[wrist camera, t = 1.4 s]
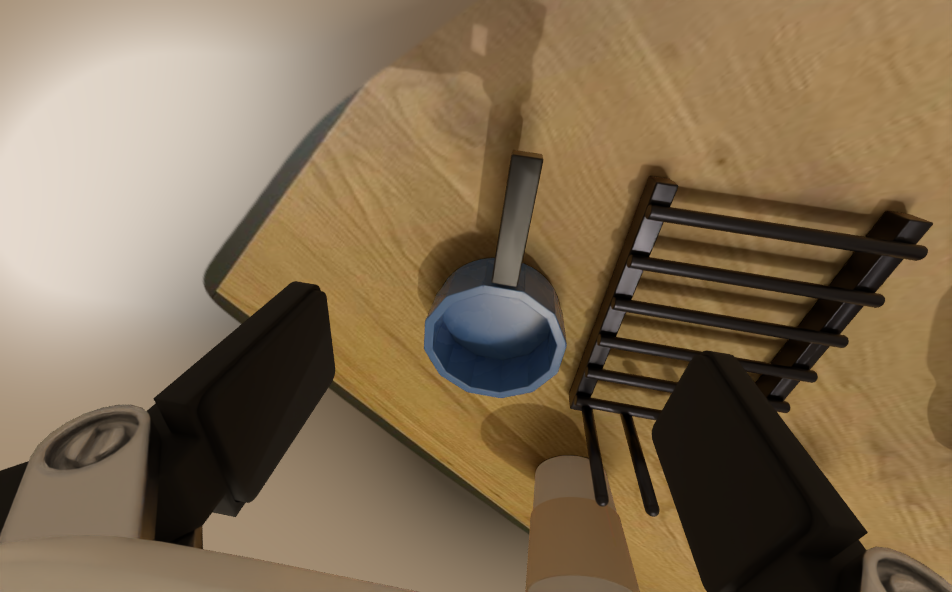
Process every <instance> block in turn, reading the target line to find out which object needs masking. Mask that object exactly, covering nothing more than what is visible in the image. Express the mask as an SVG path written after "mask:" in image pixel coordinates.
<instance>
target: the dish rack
mask: <svg viewBox="0 0 952 592" xmlns="http://www.w3.org/2000/svg"><path fill="white" fill-rule="evenodd" d="M677 189H678V185H677V184H676V183H674V182H673V181H672V180H670V179H668V178H662V177H655V176H649V178H648V181H647V183H646V186H645V189H644V191H643V194H642V197H641V200H640V202H639V205H638V208H637V211H636V213H635V216H634V219H633V221H632V224H631V227H630V230H629V232H628V235H627V238H626V240H625V243H624V246H623V249H622V251H621V254H620V257H619V260H618V262H617V265H616V268H615V270H614V273H613V276H612V279H611V281H610V284H609V287H608V289H607V292H606V295H605V298H604V300H603V303H602V306H601V309H600V311H599V314H598V317H597V319H596V322H595V325H594V328H593V330H592V333H591V336H590V338H589V341H588V344H587V347H586V349H585V352H584V355H583V358H582V360H581V363H580V366H579V368H578V371H577V374H576V377H575V379H574V382H573V385H572V387H571V390H570V393H569V402H570V409H574V410H580V411H582V415H583V422H584V429H585V436H586V442H587V449H588V456H589V462H590V469H591V476H592V482H593V489H594V496H595V501H596V503H597V504H598V505H599V506H601V507H605V506H607V505H608V503H609V497H608V492H607V486H606V481H605V475H604V470H603V464H602V459H601V453H600V448H599V442H598V437H597V431H596V426H595V420H594V415H593V409H596V410H602V411H607V412H613V413H618V414H620V416H621V420H622V423H623V427H624V431H625V435H626V439H627V443H628V446H629V450H630V454H631V458H632V462H633V466H634V469H635V473H636V477H637V481H638V485H639V489H640V492H641V496H642V500H643V504H644V508H645V511H646V513H647V514H648V515H650V516H653V517H655V516H657V515H658V514H659V506H658V503H657V499H656V496H655V493H654V489H653V486H652V482H651V479H650V476H649V472H648V469H647V465H646V462H645V459H644V455H643V452H642V448H641V445H640V442H639V438H638V435H637V431H636V428H635V425H634V421H633V418H632V416H635V417H640V418H646V419H651V420H657V419H658V417H659V415H660V413H661V412H662V410H657V409H651V408H646V407H640V406H635V405H629V404H623V403H618V402H612V401H607V400H601V399H596V398H590V397H591V395H592V393H593V390H594V388H595V385H596V383H597V381H598V380H602V381H608V382H613V383H619V384H625V385H630V386H636V387H642V388H647V389H653V390H658V391H664V392H670V393H672V392H673V390H674V389H675V387H676V385H677V383H678V382H673V381H667V380H661V379H656V378H650V377H644V376H639V375H633V374H627V373H621V372H616V371H610V370H604V369H603V366H604V364H605V361H606V359H607V357H608V354H609V352H610V349H611V348H613V349H619V350H625V351H631V352H637V353H642V354H648V355H654V356H660V357H666V358H671V359H677V360H683V361H689V362H690V361H691V359H692V358H693V357H694V356H695V355H700V354H701V353H702V352H701V351H696V350H690V349H684V348H678V347H672V346H666V345H660V344H655V343H649V342H643V341H637V340H631V339H625V338H619V337H616V335H617V333H618V330H619V328H620V325H621V323H622V321H623V318H624V316H625V313H626V312H629V313H635V314H641V315H647V316H653V317H659V318H665V319H671V320H677V321H683V322H689V323H695V324H701V325H707V326H713V327H719V328H725V329H731V330H737V331H743V332H749V333H755V334H761V335H767V336H773V337H779V338H785V339H789V340H788V341H787V343H786V344H785V345H784V347H783V348H782V349H781V351H780V352H779V353H778V354H777V356H776V357H775V358H774V360H773V361H772V362H771V363H766V362H760V361H754V360H748V359H742V358H737V357H735V358H736V359H737V360H738V361H739V363H740V364H741V365H742V367H743V368H744V369H745V371H747V372H752V373H758V374H762V376H761V377H760V378H759V380H758V381H757V382H756V385H757V387H758V388H759V389H760V391H761V392H762V393H763V394H764V396H765V397H766V398H767V400H768V401H769V402H770V404H771V405H772V406H773V408H774V409H775V410H776V411H777V412H782V413H788V412H789V411H790V405H789V403H788V402H786V401H784V400H785V398H786V397H787V396H788V395H789V394H790V393H791V391H792V390H793V389H794V388H795V387H796V385H797V384H798V383H799V382H800V381H805V382H810V383H813V382H815V381H816V380H817V378H818V376H817V373H816V372H815V371H813V370H810V369H811V368H812V367H813V365H814V364H815V363H816V362H817V361H818V359H819V358H820V357H821V356H822V355H823V354H824V352H825V351H826V350H827V349H828V348H829V346H833V347H839V348H844V347H846V346H847V345H848V342H849V340H848V338H847V337H846V336H845V335H840V333H841V332H842V331H843V330H844V329H845V328H846V326H847V325H848V324H849V323H850V322H851V320H852V319H853V318H854V317H855V316H856V315H857V313H858V312H859V311H860V310H861V309H862V308H863V306H868V307H874V308H877V307H881V306H882V305H883V304H884V302H885V297H884V296H883V295H881V294H877V293H875V292H876V291H877V290H878V289H879V287H880V286H881V285H882V284H883V283H884V282H885V280H886V279H887V278H888V277H889V276H890V274H891V273H892V272H893V271H894V270H895V269H896V267H897V266H898V265H899V264H900V263H901V261H902V260H903V259H908V260H915V261H917V260H921V259H923V258H924V257H925V256H926V255H927V253H928V249H927V248H926V247H925V246H922V245H916V244H917V243H918V241H919V240H920V239H921V238H922V237H923V235H924V234H925V233H926V232H927V231H928V230H929V228H930V227H931V226H932V225H933V223H932V222H929V221H926V220H924V219H921V218H918V217H916V216H913V215H910V214H906V213H899V212H893V211H886V212H885V213H884V214H883V216H882V217H881V218H880V220H879V221H878V222H877V224H876V225H875V226H874V228H873V229H872V230H871V231H870V233H869V234H868V235H867V237H863V236H857V235H850V234H843V233H837V232H830V231H824V230H817V229H810V228H804V227H797V226H791V225H784V224H777V223H771V222H764V221H758V220H751V219H744V218H738V217H731V216H725V215H718V214H711V213H705V212H698V211H692V210H685V209H678V208H672V207H670V206H671V203H672V201H673V198H674V196H675V194H676V191H677ZM663 222H667V223H674V224H680V225H687V226H693V227H700V228H706V229H713V230H719V231H726V232H732V233H739V234H745V235H752V236H758V237H765V238H771V239H778V240H784V241H791V242H797V243H804V244H810V245H817V246H823V247H830V248H836V249H843V250H849V251H855V253H854V254H853V255H852V257H851V258H850V259H849V261H848V262H847V263H846V265H845V266H844V267H843V269H842V270H841V271H840V272H839V274H838V275H837V276H836V278H835V279H834V280H833V282H832V283H831V284H830V286H827V285H821V284H814V283H808V282H802V281H796V280H789V279H783V278H777V277H770V276H764V275H758V274H752V273H745V272H739V271H733V270H726V269H720V268H714V267H707V266H701V265H695V264H689V263H682V262H676V261H670V260H663V259H657V258H651V257H649V256H650V254H651V251H652V249H653V246H654V244H655V242H656V239H657V237H658V234H659V232H660V230H661V227H662V225H663ZM643 270H644V271H651V272H657V273H663V274H669V275H675V276H682V277H688V278H694V279H700V280H707V281H713V282H719V283H725V284H731V285H738V286H744V287H750V288H756V289H762V290H769V291H775V292H781V293H787V294H793V295H800V296H806V297H812V298H818V299H819V300H818V302H817V303H816V304H815V306H814V307H813V308H812V310H811V311H810V312H809V313H808V315H807V316H806V317H805V319H804V320H803V321H802V323H801V324H800V325H799V327H792V326H786V325H780V324H774V323H768V322H762V321H756V320H750V319H744V318H737V317H731V316H725V315H719V314H713V313H707V312H701V311H695V310H689V309H683V308H677V307H671V306H665V305H659V304H653V303H647V302H641V301H635V300H631V299H632V297H633V294H634V292H635V289H636V287H637V285H638V282H639V280H640V277H641V275H642V273H643Z"/></svg>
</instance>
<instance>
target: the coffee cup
mask: <svg viewBox="0 0 952 592" xmlns="http://www.w3.org/2000/svg"><path fill="white" fill-rule="evenodd" d="M603 470H604V469H603ZM604 475H605V481H606V486H607V492H608V497H609V503H608V505H607V506H605V507H601V506H599V505H598V504H597V503H596V501H595V496H594V489H593V482H592V476H591V469H590V462H589V459H587V458H584V457H579V456H558V457H554V458H551V459H548V460H546V461H544V462H543V463H541V464H540V465H539V466H538V468H537V470H536V473H535V488H534V503H533V511H532V513H531V520H530V535H529V550H528V563H527V578H526V592H640V591H639V587H638V583H637V579H636V576H635V572H634V568H633V565H632V561H631V557H630V554H629V550H628V546H627V543H626V539H625V535H624V531H623V528H622V524H621V520H620V517H619V515H618V514H617V512H616V508H615V504H614V501H613V497H612V493H611V489H610V486H609V482H608V478H607V474H606V472H605V470H604Z"/></svg>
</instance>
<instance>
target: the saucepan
mask: <svg viewBox="0 0 952 592" xmlns="http://www.w3.org/2000/svg"><path fill="white" fill-rule="evenodd" d="M542 164H543V155H542V154H537V153H530V152H523V151H516V150H513V152H512V155H511V161H510V167H509V174H508V180H507V186H506V193H505V199H504V205H503V211H502V218H501V224H500V230H499V237H498V243H497V249H496V255H495V258H486V259H480V260H477V261H473V262H471V263H468V264H466V265H464V266H462V267H460V268H459V269H457V270H456V271H455V272H454V273H452V275H451V276H450V277H449V278H448V279H447V280H446V282H445V283H444V285H443V287H442V288H441V289H440V290H439V292H438V293H437V295H436V297H435V300H434V302H433V304H432V306H431V309H430V311H429V313H428V316H427V318H426V320H425V337H424V349H425V352H426V353H427V355H428V356H429V358H430V360H431V361H432V363H433V365H434V366H435V368H436V369H437V371H438V373H439V374H440V375H441V376H442V377H444V378H446V379H447V380H449V381H450V382H452V383H453V384H455V385H457V386H458V387H460V388H461V389H463V390H465V391H466V392H469V393H475V394H480V395H486V396H491V397H497V398H505V397H510V396H515V395H520V394H525V393H530V392H533V391H535V390H536V389H537V388H539V387H540V386H541V385H543V384H544V383H545V382H546V381H548V380H549V379H550V378H552V377H553V376H554V375H556V374H557V373H558V371H559V367H560V364H561V361H562V358H563V355H564V352H565V349H566V346H567V343H566V335H565V328H564V320H563V314H562V311H561V308H560V305H559V300H558V297H557V294H556V292H555V290H554V288H553V287H552V285H551V284H550V283H549V281H548V280H547V279H546V278H545V277H544V276H543V275H542V274H540V273H539V272H538V271H536V270H535V269H533V268H532V267H530V266H528V265H526V264H524V263H522V261H523V257H524V252H525V247H526V242H527V237H528V232H529V227H530V223H531V218H532V213H533V208H534V203H535V198H536V194H537V189H538V184H539V179H540V174H541V169H542Z"/></svg>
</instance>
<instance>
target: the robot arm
mask: <svg viewBox="0 0 952 592" xmlns="http://www.w3.org/2000/svg"><path fill="white" fill-rule="evenodd" d="M334 375H335V363H334V354H333V346H332V338H331V330H330V321H329V313H328V305H327V297H326V294H325V292H322V291H321V290H320V288H319V286H317V285H315V284H309V283H303V282H297V281H295V282H292V283H290V284H289V285H288V286H287V287H285V288H284V289H283V290H282V291H281V292H280V293H278V294H277V295H276V296H275V297H274V298H272V299H271V300H270V301H269V302H268V303H266V304H265V305H264V306H263V307H262V308H260V309H259V310H258V311H257V312H256V313H255V314H253V315H252V316H251V317H250V318H249V319H247V320H246V321H245V322H244V323H243V324H241V325H240V326H239V327H238V328H237V329H236V330H234V331H233V332H232V333H231V334H230V335H228V336H227V337H226V338H225V339H224V340H223V341H221V342H220V343H219V344H218V345H217V346H215V347H214V348H213V349H212V350H211V351H209V352H208V353H207V354H206V355H205V356H203V357H202V358H201V359H200V360H199V361H197V362H196V363H195V364H194V365H193V366H192V367H190V368H189V369H188V370H187V371H186V372H184V373H183V374H182V375H181V376H180V377H178V378H177V379H176V380H175V381H174V382H173V383H172V384H170V385H169V386H168V387H167V388H165V389H164V390H163V391H162V392H161V393H160V394H158V395H157V396H156V397H155V398H154V401H155V402H156V404H155V405H153V406H152V407H151V408H150V409H149V410H147V411H145V410H144V409H143V408H141V407H138V406H134V405H115V406H109V407H104V408H100V409H97V410H94V411H91V412H88V413H85V414H83V415H81V416H79V417H77V418H75V419H73V420H71V421H69V422H67V423H65V424H64V425H62V426H61V427H59V428H58V429H56V430H55V431H53V432H52V433H50V434H49V435H48V436H47V437H46V438H45V439H44V440H43V441H42V442H41V443H40V444H39V445H38V446H37V448H36V449H35V451H34V453H33V454H32V456H31V457H30V460H29V461H28V462H25V463H22V464H19V465H16V466H13V467H10V468H7V469H4V470H1V471H0V592H417V591H412V590H407V589H402V588H398V587H393V586H388V585H383V584H378V583H373V582H368V581H363V580H358V579H353V578H348V577H343V576H338V575H333V574H328V573H323V572H318V571H313V570H308V569H303V568H299V567H293V566H289V565H283V564H279V563H273V562H269V561H264V560H259V559H254V558H248V557H243V556H237V555H232V554H226V553H221V552H215V551H210V550H204V549H203V540H202V539H203V538H202V525H203V524H204V523H205V521H206V520H207V518H208V517H209V516H210V515H211V513H212V512H214V513H219V514H223V515H228V516H233V517H236V516H237V514H238V513H239V511H240V510H241V508H242V507H243V505H244V504H245V503H246V502H247V503H249V502H251V501H253V500H254V499H255V498H256V496H257V495H258V494H259V492H260V490H261V489H262V488H263V486H264V485H265V483H266V482H267V480H268V479H269V477H270V475H271V474H272V472H273V471H274V469H275V468H276V466H277V465H278V463H279V462H280V460H281V459H282V457H283V456H284V454H285V452H286V451H287V450H288V448H289V447H290V445H291V443H292V442H293V440H294V439H295V437H296V436H297V434H298V433H299V431H300V430H301V428H302V427H303V425H304V424H305V422H306V420H307V419H308V418H309V416H310V415H311V413H312V412H313V410H314V408H315V407H316V405H317V404H318V402H319V401H320V399H321V398H322V396H323V395H324V393H325V392H326V390H327V389H328V387H329V386H330V384H331V383H332V381H333V378H334ZM652 440H653V443H654V446H655V449H656V452H657V455H658V457H659V460H660V463H661V466H662V469H663V472H664V475H665V477H666V480H667V483H668V486H669V489H670V492H671V495H672V498H673V500H674V503H675V506H676V509H677V512H678V515H679V518H680V521H681V523H682V526H683V529H684V532H685V535H686V538H687V541H688V544H689V546H690V549H691V552H692V555H693V558H694V561H695V564H696V567H697V569H698V572H699V575H700V578H701V581H702V583H703V586H704V588H705V589H706V591H707V592H952V585H951V584H949V583H948V582H947V581H946V580H945V579H944V578H942V577H941V576H939V575H938V574H937V573H935V572H934V571H932V570H931V569H930V568H928V567H927V566H925V565H924V564H922V563H920V562H919V561H917V560H915V559H913V558H911V557H910V556H908V555H906V554H904V553H901V552H898V551H895V550H893V549H890V548H883V547H874V548H871V549H869V550H866V549H865V548H864V547H863V545H862V544H861V542H860V541H859V539H860V538H861V537H863V536H864V535H865V534H867V533H868V532H867V531H866V529H865V528H864V527H863V526H862V524H861V523H860V522H859V520H858V519H857V518H856V516H855V515H854V514H853V512H852V511H851V510H850V508H849V507H848V506H847V504H846V503H845V502H844V500H843V499H842V498H841V496H840V495H839V494H838V492H837V491H836V490H835V488H834V487H833V486H832V484H831V483H830V482H829V481H828V479H827V478H826V477H825V475H824V474H823V473H822V471H821V470H820V469H819V467H818V466H817V465H816V463H815V462H814V461H813V459H812V458H811V457H810V455H809V454H808V453H807V451H806V450H805V449H804V447H803V446H802V445H801V443H800V442H799V441H798V439H797V438H796V437H795V436H794V434H793V433H792V432H791V430H790V429H789V428H788V426H787V425H786V424H785V422H784V421H783V420H782V418H781V417H780V416H779V414H778V413H777V412H776V410H775V409H774V408H773V406H772V405H771V404H770V402H769V401H768V400H767V398H766V397H765V396H764V394H763V393H762V392H761V391H760V389H759V388H758V387H757V385H756V384H755V383H754V381H753V380H752V379H751V377H750V376H749V375H748V373H747V372H746V371H745V369H744V368H743V367H742V365H741V364H740V363H739V361H738V360H737V359H736V358H735V357H734V356H733V355H730V354H725V353H719V352H713V351H703V352H702V353H701V354H700V355H695V356H694V357H693V358H692V359H691V361H690V362H689V364H688V366H687V368H686V369H685V371H684V373H683V375H682V376H681V378H680V380H679V382H678V383H677V385H676V387H675V389H674V390H673V392H672V394H671V396H670V397H669V399H668V401H667V403H666V405H665V406H664V408H663V410H662V412H661V413H660V415H659V417H658V419H657V420H656V422H655V424H654V426H653V429H652Z"/></svg>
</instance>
